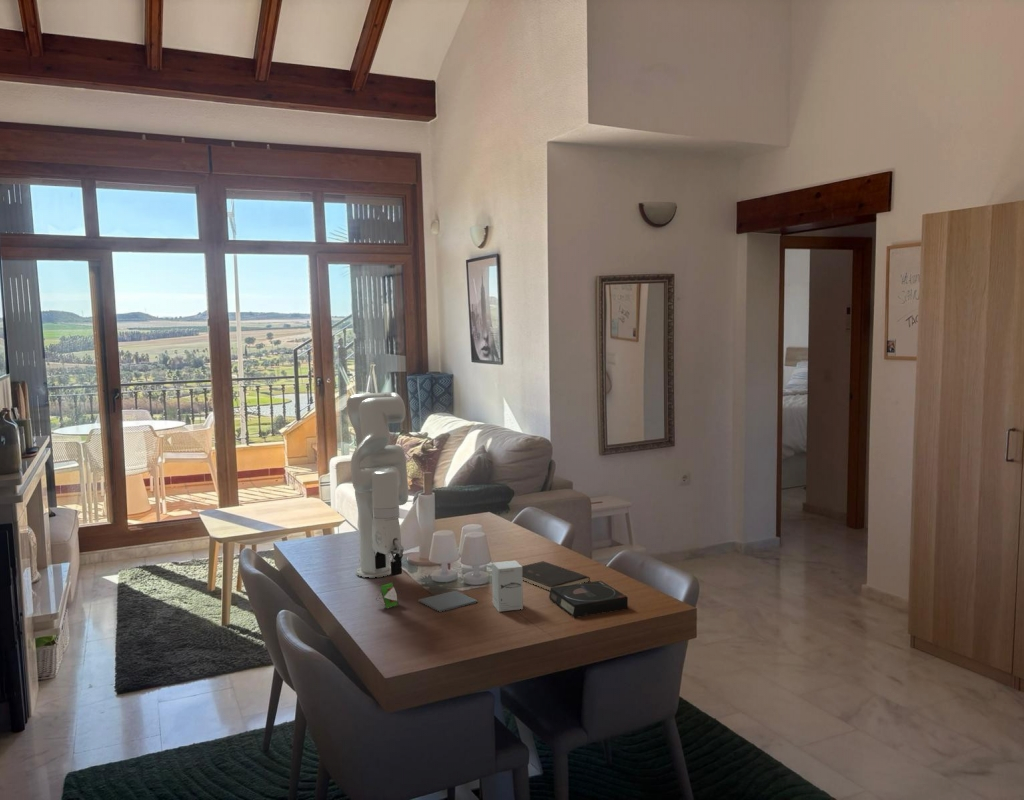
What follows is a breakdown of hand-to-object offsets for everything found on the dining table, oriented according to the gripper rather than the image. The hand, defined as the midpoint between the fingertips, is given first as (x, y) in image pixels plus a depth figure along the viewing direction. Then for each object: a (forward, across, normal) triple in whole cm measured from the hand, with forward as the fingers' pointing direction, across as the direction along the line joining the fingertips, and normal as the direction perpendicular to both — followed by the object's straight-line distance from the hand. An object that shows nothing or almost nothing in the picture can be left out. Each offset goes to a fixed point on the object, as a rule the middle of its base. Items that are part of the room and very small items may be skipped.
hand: (388, 571), depth 231 cm
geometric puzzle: (+11, -1, 0) cm, 11 cm away
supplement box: (+11, +22, +26) cm, 36 cm away
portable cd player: (+12, +35, +45) cm, 58 cm away
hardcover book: (+11, +8, +52) cm, 54 cm away
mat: (+11, +7, +15) cm, 20 cm away
